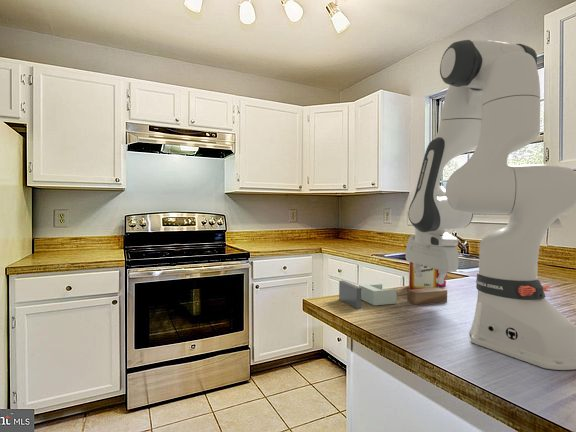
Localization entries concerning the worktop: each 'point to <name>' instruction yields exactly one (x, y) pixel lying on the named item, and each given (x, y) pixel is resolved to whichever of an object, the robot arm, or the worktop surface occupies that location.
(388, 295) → the block
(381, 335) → the worktop surface
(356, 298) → the grey upright slab
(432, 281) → the baking soda box
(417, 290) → the brown wooden block
